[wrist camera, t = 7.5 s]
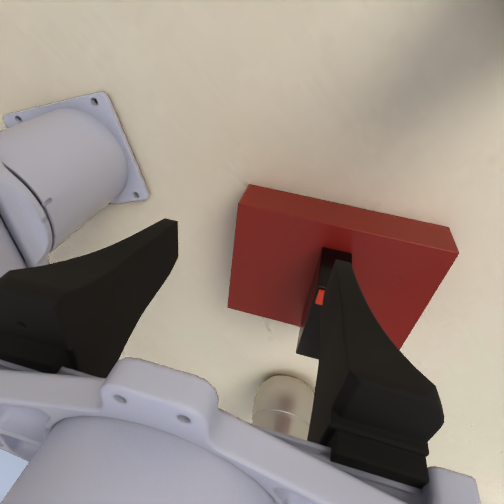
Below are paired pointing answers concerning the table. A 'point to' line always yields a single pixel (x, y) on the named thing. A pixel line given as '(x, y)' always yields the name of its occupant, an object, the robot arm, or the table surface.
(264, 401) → the metal water bottle
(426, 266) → the red rectangular block
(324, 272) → the block
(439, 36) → the table surface
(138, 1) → the table surface
